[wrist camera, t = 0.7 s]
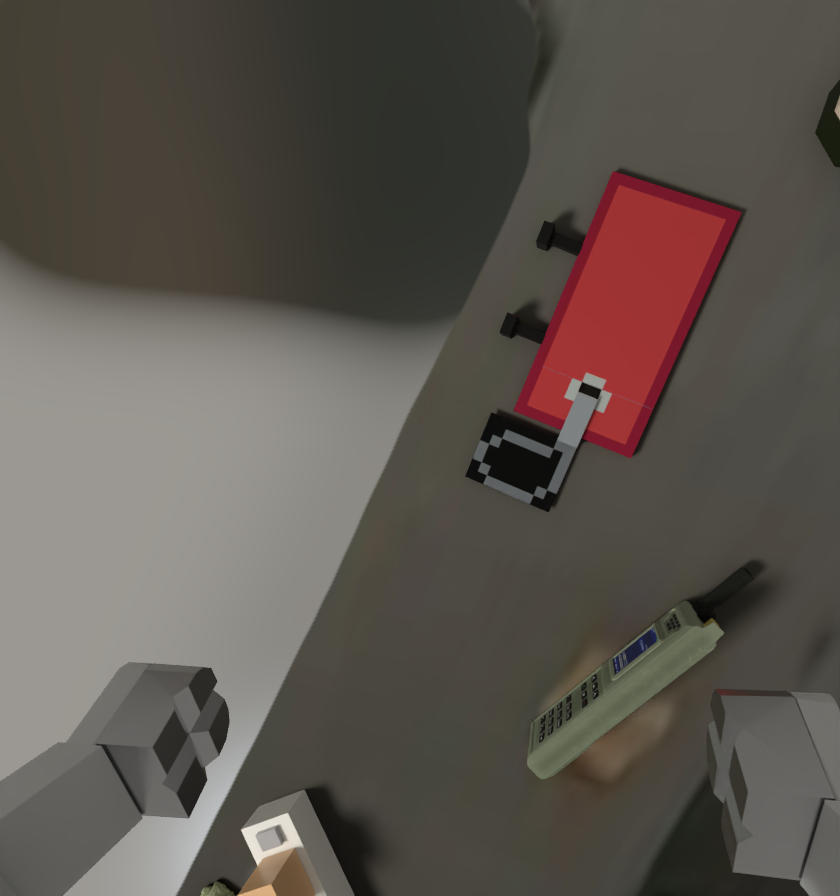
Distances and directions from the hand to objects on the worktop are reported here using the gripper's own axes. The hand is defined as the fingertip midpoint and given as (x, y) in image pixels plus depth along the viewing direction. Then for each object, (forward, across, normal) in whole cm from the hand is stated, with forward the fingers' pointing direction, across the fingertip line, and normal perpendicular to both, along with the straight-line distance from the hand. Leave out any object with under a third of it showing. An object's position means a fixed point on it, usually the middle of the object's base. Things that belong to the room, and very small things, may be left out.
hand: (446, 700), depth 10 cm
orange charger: (+27, -26, -60) cm, 71 cm away
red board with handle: (+50, +5, -14) cm, 52 cm away
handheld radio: (+38, +9, -39) cm, 55 cm away
